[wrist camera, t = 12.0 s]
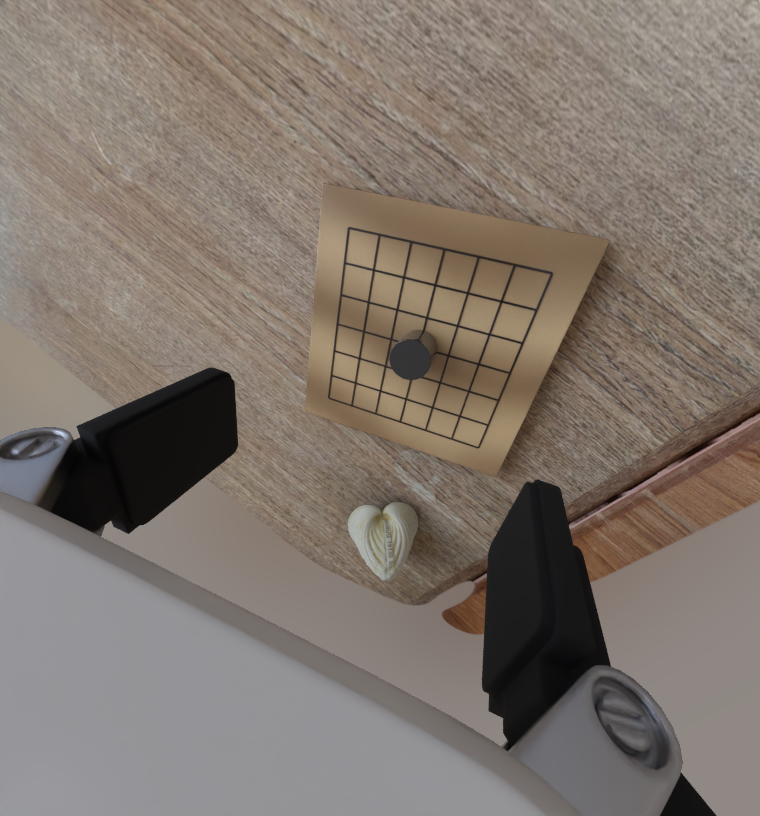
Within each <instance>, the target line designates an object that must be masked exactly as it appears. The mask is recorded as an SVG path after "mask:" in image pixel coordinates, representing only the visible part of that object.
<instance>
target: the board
mask: <svg viewBox="0 0 760 816" xmlns="http://www.w3.org/2000/svg"><path fill="white" fill-rule="evenodd" d="M609 243H610V240H608V239H603V238H598V237H593V236H588V235H583V234H578V233H572V232H567V231H562V230H557V229H552V228H547V227H542V226H537V225H532V224H527V223H522V222H517V221H512V220H507V219H502V218H497V217H492V216H487V215H482V214H477V213H472V212H467V211H462V210H457V209H452V208H447V207H442V206H437V205H432V204H427V203H421V202H416V201H411V200H406V199H401V198H396V197H391V196H386V195H381V194H376V193H371V192H366V191H361V190H356V189H351V188H346V187H341V186H336V185H331V184H326V183H323V187H322V199H321V212H320V225H319V238H318V251H317V264H316V276H315V289H314V302H313V315H312V328H311V340H310V353H309V366H308V379H307V392H306V405H305V411H306V412H308V413H311V414H314V415H317V416H320V417H323V418H326V419H329V420H332V421H334V422H337V423H340V424H343V425H346V426H349V427H352V428H355V429H358V430H361V431H363V432H366V433H369V434H372V435H375V436H378V437H381V438H384V439H387V440H389V441H392V442H395V443H398V444H401V445H404V446H407V447H410V448H413V449H415V450H418V451H421V452H424V453H427V454H430V455H433V456H436V457H439V458H441V459H444V460H447V461H450V462H453V463H456V464H459V465H462V466H465V467H468V468H470V469H473V470H476V471H479V472H482V473H485V474H488V475H491V476H494V477H497V475H498V473H499V471H500V468H501V466H502V464H503V462H504V460H505V458H506V456H507V454H508V452H509V450H510V448H511V446H512V444H513V442H514V440H515V437H516V435H517V433H518V431H519V429H520V427H521V425H522V423H523V421H524V419H525V417H526V415H527V413H528V411H529V408H530V406H531V404H532V402H533V400H534V398H535V396H536V394H537V392H538V390H539V388H540V386H541V384H542V382H543V380H544V377H545V375H546V373H547V371H548V369H549V367H550V365H551V363H552V361H553V359H554V357H555V355H556V353H557V351H558V348H559V346H560V344H561V342H562V340H563V338H564V336H565V334H566V332H567V330H568V328H569V326H570V324H571V322H572V320H573V317H574V315H575V313H576V311H577V309H578V307H579V305H580V303H581V301H582V299H583V297H584V295H585V293H586V291H587V288H588V286H589V284H590V282H591V280H592V278H593V276H594V274H595V272H596V270H597V268H598V266H599V264H600V262H601V260H602V257H603V255H604V253H605V251H606V249H607V247H608V245H609ZM412 330H424V331H426V332H428V333H430V334H431V335H432V336H433V337H434V339H435V341H436V343H437V348H438V350H437V355H436V358H435V359H434V361H433V363H432V365H431V367H430V369H429V370H428V372H427V373H426V374H425V375H424V376H423V377H421V378H419V379H417V380H406V379H403V378H401V377H399V376H398V375H397V374H396V373H395V372H394V371H393V369H392V368H391V365H390V361H389V356H390V352H391V349H392V348H393V346H394V345H395V344H396V343H397V342H398V341H399V340H400V339H401V338H402V337H403V336H404V335H405V334H407V333H408V332H410V331H412Z"/></svg>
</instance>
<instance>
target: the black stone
mask: <svg viewBox="0 0 760 816" xmlns="http://www.w3.org/2000/svg"><path fill="white" fill-rule="evenodd" d="M437 350H438V348H437V343H436V341H435V339H434V337H433V336H432V335H431V334H430V333H428V332H426V331H424V330H412V331H410V332H408V333H407V334H405V335H404V336H403V337H402V338H401V339H400V340H399V341H398V342H397V343H396V344H395V345H394V346H393V348H392V349H391V352H390V356H389V361H390V365H391V368H392V369H393V371H394V372H395V373H396V374H397V375H398V376H399V377H401V378H403V379H406V380H417V379H419V378H421V377H423V376H424V375H425V374H426V373H427V372H428V370H429V369H430V367H431V365H432V363H433V361H434V359H435V358H436V355H437Z"/></svg>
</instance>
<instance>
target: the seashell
mask: <svg viewBox="0 0 760 816" xmlns="http://www.w3.org/2000/svg"><path fill="white" fill-rule="evenodd" d="M417 529H418V516H417V514H416V512H415V510H414V509H413V508H412V507H411V506H409V505H408V504H405V503H402V502H394V503H391V504H389V505H387V506H386V507H385V508H384V510H379V509H378V508H377V507H375V506H371V505H363V506H360V507H358V508H357V509H356V510H354V511H353V512H352V514H351V515H350V517H349V520H348V530H349V533H350V536H351V538H352V539H353V541H354V542H355V543H356V545H357V547H358V549H359V551H360V555H362V558H364V560H365V561H366V564H367V566H369V567H370V569H372V571H373V572H374V573H375V575H377V576H379V577H380V579H382V580H383V581H392V579H393V578H394V577H395V576H397V573H398V572H399V570H401V568H402V567H403V565H404V563H405V562H406V559H407V556H408V555H409V552H410V551H411V546H412V542H413V538H414V536H415V535H416V532H417Z"/></svg>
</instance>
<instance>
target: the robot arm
mask: <svg viewBox="0 0 760 816" xmlns="http://www.w3.org/2000/svg"><path fill="white" fill-rule="evenodd" d="M77 429H78V431H79V434H80V438H78V439H76V440H73V437H72V435H71V433H70V432H69V431H67V430H65V429H61V428H56V427H43V428H34V429H30V430H25V431H21V432H18V433H15V434H13V435H10V436H7V437H5V438H3V439H2V440H0V816H716V815H715V814H714V812H713V811H712V810H711V809H710V807H709V806H708V805H707V804H706V802H705V801H704V800H703V799H702V798H701V796H700V795H699V794H698V793H697V791H696V790H695V789H694V788H693V787H692V786H691V784H690V783H689V782H688V781H687V779H686V778H685V777H684V776H683V774H682V773H681V768H682V763H683V761H682V756H681V749H680V744H679V742H678V739H677V737H676V734H675V732H674V729H673V727H672V725H671V723H670V722H669V721H668V718H667V717H666V715H665V714H664V712H663V710H662V709H661V707H660V706H659V705H658V704H657V703H656V701H655V700H654V699H653V698H652V697H651V695H650V694H649V693H648V692H647V691H646V690H645V689H644V688H643V687H642V686H640V685H639V684H638V683H637V682H636V681H635V680H634V679H633V678H631V677H630V676H628V675H626V674H625V673H623V672H622V671H620V670H618V669H615V668H612V667H611V665H610V661H609V657H608V653H607V649H606V645H605V641H604V637H603V633H602V629H601V625H600V621H599V617H598V613H597V609H596V605H595V601H594V597H593V593H592V589H591V585H590V581H589V577H588V573H587V569H586V565H585V561H584V557H583V554H582V552H581V550H580V549H579V548H578V547H577V546H574V545H573V542H572V538H571V533H570V529H569V524H568V520H567V516H566V511H565V507H564V502H563V498H562V494H561V490H560V488H559V487H558V486H555V485H552V484H549V483H546V482H543V481H540V480H535V481H534V482H533V483H530V482H526V483H525V485H524V486H523V488H522V490H521V492H520V493H519V495H518V497H517V499H516V500H515V502H514V504H513V506H512V508H511V509H510V511H509V513H508V515H507V517H506V518H505V520H504V522H503V524H502V526H501V527H500V529H499V531H498V533H497V534H496V536H495V538H494V540H493V542H492V544H491V546H490V549H489V553H488V567H487V588H486V609H485V629H484V650H483V671H482V688H483V691H484V692H487V693H489V711H490V712H492V713H494V714H496V715H498V716H500V717H502V718H503V733H504V735H505V737H506V738H507V741H506V742H505V743H504V744H503V745H502V746H499V745H498V744H496V743H495V742H493V741H492V740H490V739H488V738H487V737H485V736H483V735H482V734H480V733H478V732H476V731H475V730H473V729H472V728H470V727H468V726H467V725H465V724H463V723H462V722H460V721H458V720H457V719H455V718H453V717H452V716H450V715H448V714H446V713H444V712H442V711H440V710H439V709H437V708H435V707H433V706H431V705H429V704H427V703H425V702H424V701H422V700H420V699H418V698H416V697H414V696H412V695H410V694H408V693H407V692H405V691H403V690H401V689H399V688H397V687H395V686H394V685H392V684H390V683H388V682H386V681H384V680H382V679H380V678H378V677H377V676H375V675H373V674H371V673H369V672H367V671H365V670H363V669H361V668H359V667H357V666H355V665H354V664H352V663H350V662H348V661H346V660H344V659H342V658H340V657H338V656H336V655H334V654H332V653H330V652H328V651H326V650H324V649H322V648H320V647H318V646H316V645H314V644H312V643H310V642H309V641H307V640H305V639H303V638H301V637H299V636H297V635H295V634H293V633H291V632H289V631H287V630H285V629H283V628H281V627H279V626H277V625H275V624H273V623H271V622H269V621H267V620H265V619H263V618H262V617H260V616H257V615H256V614H254V613H252V612H250V611H248V610H246V609H244V608H242V607H240V606H238V605H236V604H233V603H232V602H230V601H228V600H226V599H224V598H222V597H220V596H218V595H216V594H214V593H212V592H210V591H208V590H206V589H204V588H202V587H200V586H198V585H196V584H194V583H192V582H190V581H188V580H186V579H184V578H182V577H180V576H178V575H176V574H174V573H172V572H170V571H168V570H166V569H164V568H162V567H160V566H158V565H156V564H154V563H152V562H150V561H148V560H146V559H144V558H142V557H140V556H138V555H136V554H134V553H132V552H130V551H128V550H126V549H124V548H122V547H120V546H118V545H116V544H114V543H112V542H110V541H108V540H106V539H104V538H102V537H101V535H102V532H103V529H104V525H105V524H107V523H108V522H109V521H112V524H113V526H114V527H116V528H117V529H120V530H122V531H124V532H126V533H128V534H129V533H130V532H132V531H133V530H134V529H135V528H137V527H138V526H139V525H144V524H146V523H147V522H149V521H150V520H152V519H153V518H154V517H155V516H156V515H158V514H159V513H160V512H161V511H163V510H164V509H165V508H166V507H168V506H169V505H170V504H171V503H172V502H174V501H175V500H176V499H178V498H179V497H180V496H181V495H183V494H184V493H185V492H186V491H188V490H189V489H190V488H191V487H193V486H194V485H195V484H196V483H198V482H199V481H200V480H201V479H203V478H204V477H205V476H206V475H208V474H209V473H210V472H211V471H213V470H214V469H215V468H216V467H218V466H219V465H220V464H221V463H223V462H224V461H225V460H226V459H228V458H229V457H230V456H231V455H233V454H234V453H235V451H236V449H237V447H238V435H237V418H236V401H235V384H234V381H233V379H232V378H231V375H230V374H229V373H227V372H224V371H221V370H219V369H216V368H207V369H205V370H203V371H201V372H198V373H196V374H194V375H192V376H189V377H187V378H185V379H182V380H180V381H178V382H176V383H173V384H171V385H169V386H167V387H164V388H162V389H160V390H158V391H155V392H153V393H151V394H149V395H146V396H144V397H142V398H139V399H137V400H135V401H133V402H130V403H128V404H126V405H124V406H121V407H119V408H117V409H115V410H112V411H110V412H108V413H106V414H103V415H101V416H99V417H97V418H94V419H92V420H90V421H87V422H85V423H83V424H81V425H78V426H77Z"/></svg>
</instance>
